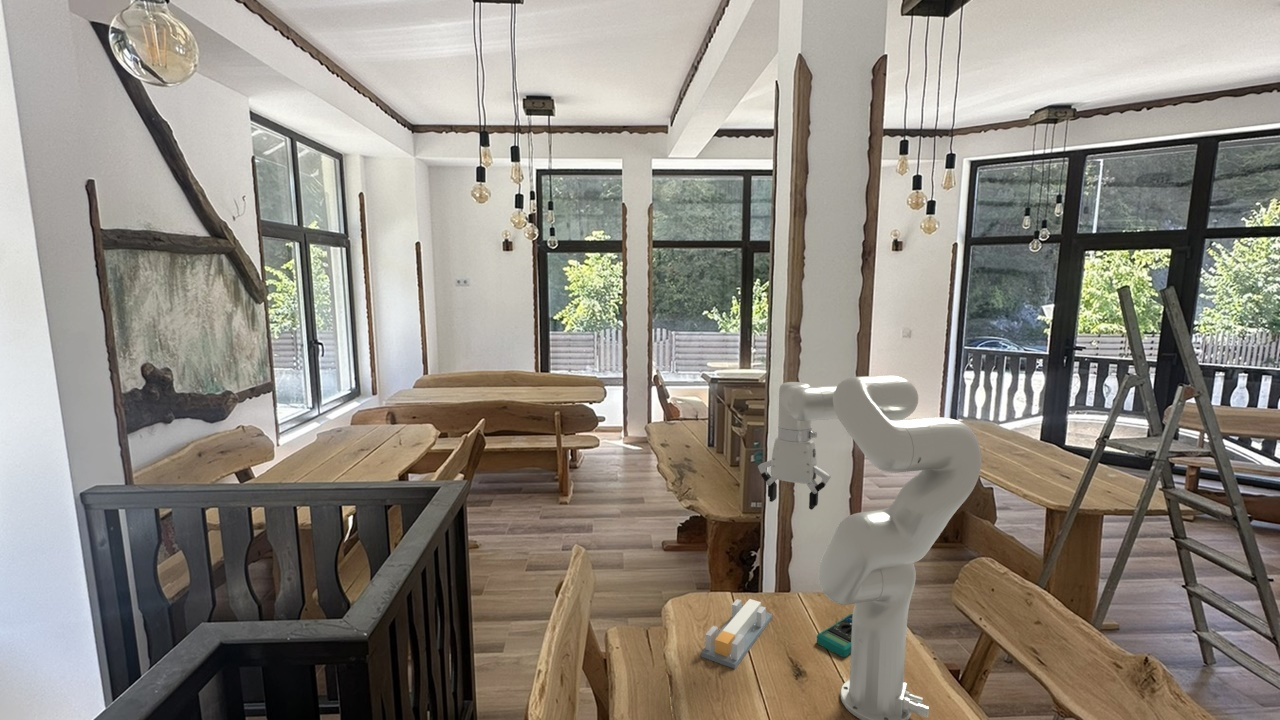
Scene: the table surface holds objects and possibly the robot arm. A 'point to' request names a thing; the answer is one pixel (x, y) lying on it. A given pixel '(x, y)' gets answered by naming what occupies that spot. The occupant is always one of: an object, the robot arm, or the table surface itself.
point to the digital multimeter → (838, 637)
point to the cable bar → (737, 627)
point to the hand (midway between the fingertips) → (792, 503)
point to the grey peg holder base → (741, 642)
